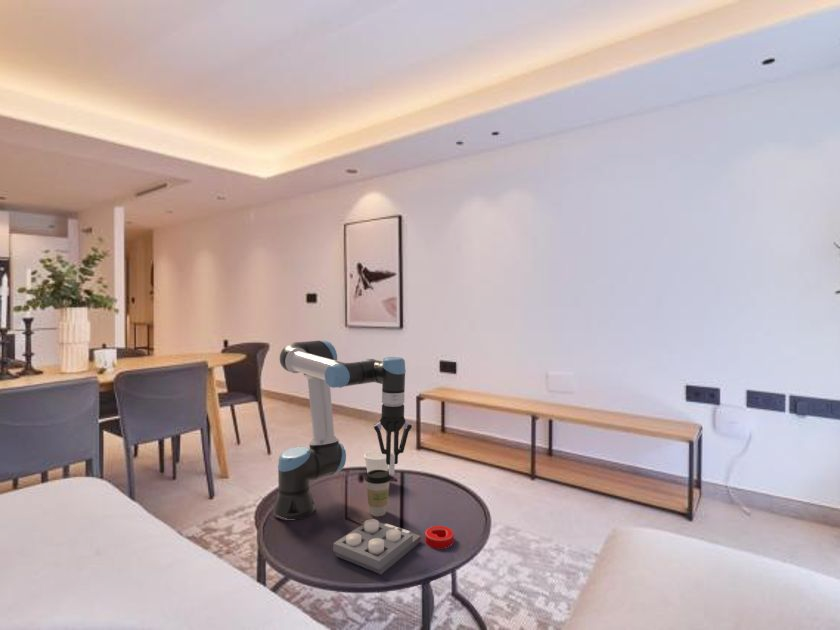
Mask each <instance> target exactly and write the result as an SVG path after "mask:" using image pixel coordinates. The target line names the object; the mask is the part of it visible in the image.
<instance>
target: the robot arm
mask: <svg viewBox="0 0 840 630" xmlns="http://www.w3.org/2000/svg"><path fill="white" fill-rule="evenodd" d="M279 364H280V366H281V367H282V368H283V369H284V370H285V371H287V372H289V373H292V374H299V373H300V374H301V373H302V374H303V377H305V378H306V379H307V385H308V397H309V409H310V422H311V432H312V433H311V434H312V440H311V441H310V442H309V447H307V446H298V447H297V446H296V447H295V446H294V447H291V448H288V449H286V450H284V451H283V452H281V454H280V455H279V457H278V464H277V468H278V472H277V473H278V477H277V478H278V479H277V481H278V491H277V496H276V501H275V504H274V505H273V512H274V511H275V513H276V514H277V515H279V516H281V517H284V518H287V519H299V520H302V519H301V518H303V519H306V518H308V517H310V516H311V515H312V514H314V512H315V507H316V505H315V501H314V498H313V495H312V492H311V482H312V481H314V480H319V479H321V478H324V477H328V476H333V475H334V474H337V473H339V472H341V471H342V470H343V469H344V467H345V465H346V462H347V453H346V449H345V446H344V445H343V444H342V443H341V442H340V440H339V438H337V437H336V436H335V428H334V427H335V426H334V417H333V405H332V394H331V393H332V392H331V388H332V389H335V388H339V389H340V388H344V387H350V386H356V385H363V384H371V383H377V384H380V385H382V387H381V388H382V389H381V403H382V405H381V418H380V420H379V422H378V423H376V424H373V425H372V426H373V428H374V429H373V430H374V431H375V433H376V436H377V440H378V444H379V449H380V451H381V452H382V454H386V463H387V465H388V472H389V475H390V476H394V475H395V471H396V470H395V469H396V467H395V465H398V463H399V455H400V454H403V453H404V451H405V447H406V444H407V440H408V436H409V433H410V430H411V429H412V424H411V423H409V422H408V421H406V418H405V405H404V403H405V388H406V387H405V384H406V361H405V359H404V358H403V357H400V356H398V357H397V356H387V357H384V358H383V359H382V360H377V359H374V358H370V359H369V358H365V359H363V360H362V361H353V362H342V361H339V360H338V354H337V350H336V348H335V346H334V345H333V344H332V343H331V342H330V341H327V340H311V341H295V342H292V343H289V344H287V345H285V346H284V347H283V348H282V350H281V352H280V353H279ZM382 427H383V429H384V430H385V434H386V438H385V442H386V443H385V444H384V440H383V437H382V433H381V430H382ZM402 428H403V431H402V436H401V440H400V443H399V435H400V431H401V429H402ZM392 433H393V452H391V450H392V449H391V447H392V444H391V443H392Z"/></svg>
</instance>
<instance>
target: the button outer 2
mask: <svg viewBox="0 0 840 630" xmlns="http://www.w3.org/2000/svg"><path fill="white" fill-rule="evenodd" d="M400 539H401V532H400V531H399V530H396V529H391V530H388V531H387V532H386V540H388V541H391V542H394V543H396V542H397V541H399V540H400Z"/></svg>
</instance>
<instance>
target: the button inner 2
mask: <svg viewBox="0 0 840 630" xmlns="http://www.w3.org/2000/svg"><path fill="white" fill-rule="evenodd" d="M379 522H380V521H379V520H377V519H376V518H375V519H374V518H370V519H367V520H365V521H364V522H363V524H364V532H366V533H368V534H371V535H374V534H375V533H377V532H378V531H379Z"/></svg>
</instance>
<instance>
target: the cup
mask: <svg viewBox="0 0 840 630" xmlns="http://www.w3.org/2000/svg"><path fill="white" fill-rule="evenodd" d="M363 458H364V462H365V467H366V472H367V473H368V472H369V471H372V470H385V471H389V465H387V463H386V454H382V452H381V450H371V451H367V452H366V453H365V454H364V455H363Z"/></svg>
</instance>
